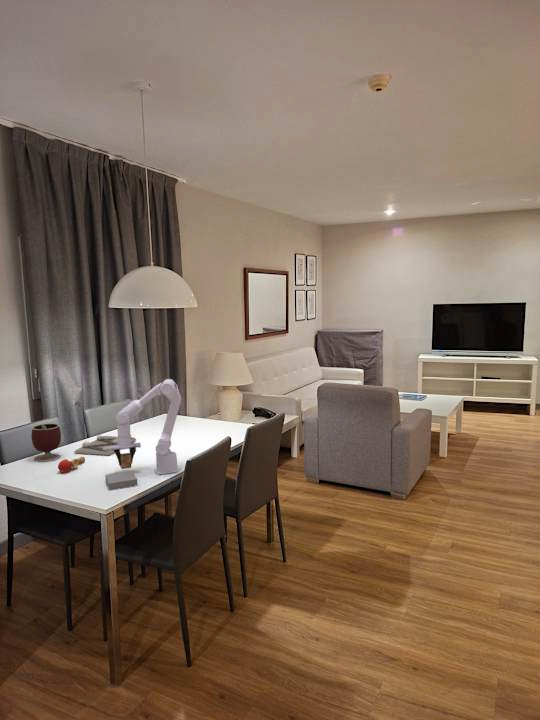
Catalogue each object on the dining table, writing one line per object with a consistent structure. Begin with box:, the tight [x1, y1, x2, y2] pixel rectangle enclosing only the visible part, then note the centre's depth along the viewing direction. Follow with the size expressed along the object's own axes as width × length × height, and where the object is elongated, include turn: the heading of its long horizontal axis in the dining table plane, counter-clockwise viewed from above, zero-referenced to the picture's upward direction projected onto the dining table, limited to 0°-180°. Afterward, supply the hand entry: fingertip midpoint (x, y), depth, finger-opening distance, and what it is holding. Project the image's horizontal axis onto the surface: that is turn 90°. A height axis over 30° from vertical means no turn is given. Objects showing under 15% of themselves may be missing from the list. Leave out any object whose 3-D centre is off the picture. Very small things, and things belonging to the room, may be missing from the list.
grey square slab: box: [105, 470, 138, 491], centre depth 224 cm, size 12×12×3 cm
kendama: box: [57, 456, 86, 474], centre depth 245 cm, size 8×6×18 cm
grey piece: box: [74, 434, 137, 457], centre depth 280 cm, size 30×22×7 cm
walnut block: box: [119, 452, 132, 470], centre depth 237 cm, size 4×4×6 cm
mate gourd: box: [30, 422, 62, 463], centre depth 258 cm, size 16×14×20 cm
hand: (125, 463), depth 237 cm, fingers closed on walnut block, 4 cm apart
